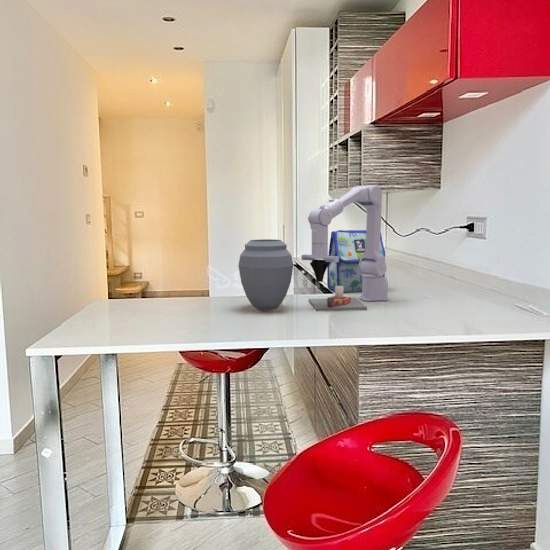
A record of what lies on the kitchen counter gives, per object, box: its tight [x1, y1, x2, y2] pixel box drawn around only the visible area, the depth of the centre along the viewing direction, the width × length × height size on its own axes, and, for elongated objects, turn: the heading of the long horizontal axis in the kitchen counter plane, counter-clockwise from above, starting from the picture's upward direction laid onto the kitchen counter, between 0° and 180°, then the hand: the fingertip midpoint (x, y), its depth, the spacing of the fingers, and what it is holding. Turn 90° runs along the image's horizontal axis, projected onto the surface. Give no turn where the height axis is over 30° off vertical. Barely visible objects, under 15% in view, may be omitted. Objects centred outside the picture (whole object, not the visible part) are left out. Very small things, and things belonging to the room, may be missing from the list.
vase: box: [238, 239, 294, 311], centre depth 190 cm, size 20×20×24 cm
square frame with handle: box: [327, 295, 352, 307], centre depth 193 cm, size 14×7×3 cm, turn 154°
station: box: [308, 286, 368, 312], centre depth 196 cm, size 18×19×7 cm
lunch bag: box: [326, 229, 386, 293], centre depth 229 cm, size 22×17×26 cm
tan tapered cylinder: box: [337, 300, 342, 306], centre depth 190 cm, size 2×2×2 cm
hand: (319, 281), depth 190 cm, fingers closed
